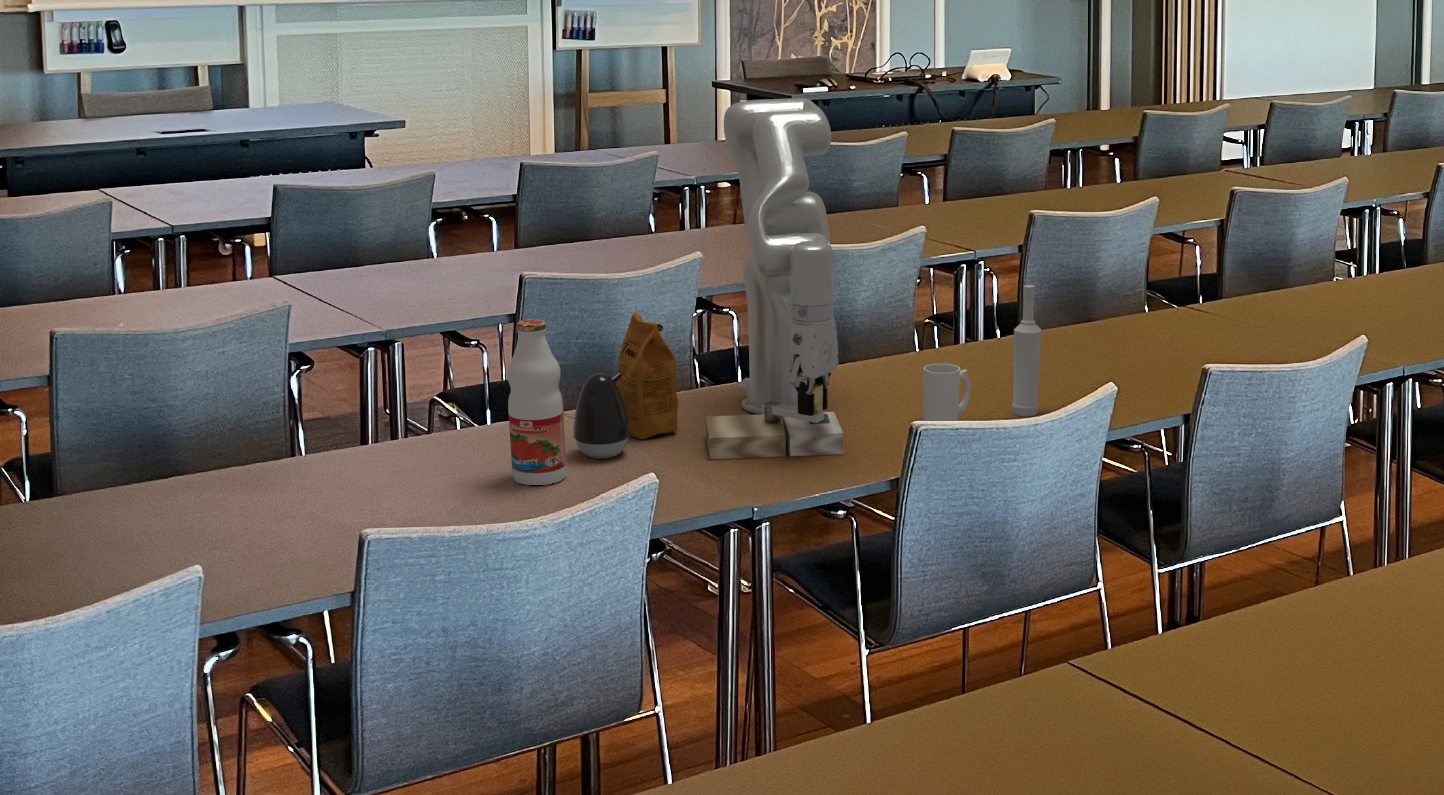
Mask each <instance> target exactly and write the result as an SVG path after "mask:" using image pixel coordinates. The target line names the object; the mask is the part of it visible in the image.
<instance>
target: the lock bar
mask: <svg viewBox="0 0 1444 795" xmlns="http://www.w3.org/2000/svg"><path fill="white" fill-rule="evenodd" d="M805 384H806V385H807V382H805ZM812 394H814V415H813V416H808V415H802V414H799V413H798V407H797V406H792V405H787V404H782V403H779V402H772V401H768V402H766V403H763V404H762V412H764V421H765V422H767V423H778V422H780V421H781V422H782V418H781V417H783V416H784V417H789V418H794V419H799V420H804V421H809V422H814V423H817V422H819V421H822V420H824V412H825V411H824V410H823V384H821V383H816V382H813V388H812Z"/></svg>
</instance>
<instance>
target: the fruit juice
mask: <svg viewBox="0 0 1444 795" xmlns="http://www.w3.org/2000/svg"><path fill="white" fill-rule="evenodd" d="M546 324H547V323H546V322H545V320H543V319H540V318H539V319H538V318H527V319H522V320H519V321H518V322H516V330H517V331H516V333H518V338H517V342H516V346H515V350H514V352H513V356H512V357H511V360H510V362H509V363H508V366H507V371H506V375H507V380H508V384H509V387H510V393H509V396H508V400H507V401H508V402H507V403H508V404H507V405H508V407H507V409H508V410H507V411H508V423H509V425H508V426H509V427H508V428H509V442H510V456H511V458H510V459H511V460H510V461H511V473H512V478H513V480H514V482H515V483H517V484H519V483H521V484H520V485H523V484H524V486H529V485H543V486H549V484H550V485H553V484H552V483H554V484H556V483H559V482H561V481H563V480H564V479H565V478H566V474H567V457H566V456H567V455H566V441H565V440H566V437H565V416H564V401H563V396H562V393H561V391H560V389H559V385H560V379H561V375H562V374H561V367H560V364H559V362H558V360H557V359H556V358H555V356H554V355H553V353H552V351H551V348H550V346H549V343H548V341H547V338H546V335H545V333H546V331H547V325H546Z"/></svg>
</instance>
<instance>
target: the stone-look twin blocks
mask: <svg viewBox="0 0 1444 795" xmlns="http://www.w3.org/2000/svg"><path fill="white" fill-rule="evenodd" d="M823 412H824V420H822V421H819V422H817V423H814V422H809V421H804V420H799V419H794V418H789V417H784V416H782V420H781V421H780V422H778V423H767V422H765V421H764V414H742V415H741V414H740V415H739V414H738V415H737V414H736V415H717V416H715V415H714V416H713V415H712V416H705V439H706V444H707V450H708V455H709V460H726V459H729V460H730V459H732V460H733V459H751V458H752V459H753V458H754V459H755V458H779V457H781V458H782V457H783V458H784V457H786V456H787V455H786V454H787V453H786V452H788V454H789V457H797V456H798V457H802V456H803V457H804V456H807V457H808V456H827V455H828V456H829V455H831V456H832V455H833V456H834V455H843V454H844V432H843V431H844V430H843V429H842V427H841V425H840V422H839V420H838V418H837V415H836V412H835V411H823ZM786 449H787V450H786Z"/></svg>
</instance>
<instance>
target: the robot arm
mask: <svg viewBox="0 0 1444 795" xmlns="http://www.w3.org/2000/svg"><path fill="white" fill-rule="evenodd" d="M723 134H724V138H725V143H726V146H727V150H728V153H729V154H730V157H731V160H732V161H733V164H734V166H735V168H736V172H737V174H738V178H739V187H740V188H739V189H740V195H741V204H742V206H741V207H742V212H743V221H744V227H745V229H746V230H745V231H746V234H747V236H748V237H747V238H748V242H749V249H750V253H749V254H748V255H747V256H746V257H745V258H744V261H743V264H742V276H743V281H744V289H745V294H746V301H747V315H748V317H747V318H748V319H747V321H748V354H749V356H748V357H749V358H748V361H749V362H748V363H749V364H748V365H749V368H748V369H749V371H748V372H749V377H745V378H743V380H742V382H740V383H738V389H739V390H740V391H746V392H745V393H746V397H744V398H742V401H741V407H742V408H743V410H745V411H747V412H749V413H753V414H755V415H762V414H764V412H762V404H763V403H766V402H768V401H772V402H779V403H782V404H787V405H792V406H797V407H798V413H799V414H802V415H808V416H813V415H814V394H812V388H813V382H816V383H821V384H823V411H825V410H827V409H828V388H829V386H830V377H831V374H832V372H833V371H835V370H837V368H838V367H839V345H838V344H839V343H838V342H839V341H838V332H837V331H838V330H837V325H836V324H837V323H836V321H835V317H834V276H835V275H834V274H835V272H834V253H833V252H834V251H833V248H832V245H831V237H830V230H829V229H830V228H829V223H828V215H827V210H826V206H825V204H824V201H823V199H822V198H821V196H820V195H819V194H818V193H817V192H813V191H809V186H810V179H809V176H808V175H809V174H808V170H807V165H806V162H805V157H806V156H807V157H810V156H822V155H824V154H827V152H828V151H829V149H830V147H831V143H832V132H831V126H830V123H829V120H828V117H827V116H826V114H825V112H824V111H823V110H822V109H821V108H820V107H819V106H818V105H817V104H815V103H814V102H813V100H811V99H808V98H803V97H802V98H801V97H798V98H796V97H795V98H794V97H793V98H774V99H769V98H766V99H765V98H764V99H752V100H751V99H750V100H744V101H740V102H739V101H738V102H735V103H733V104H731V105H730V106H728V107H727V109H726V110H725V112H724V116H723ZM786 298H790V306H789V304H787V303H786V302H785V300H784V299H786ZM804 381H806V382H804ZM805 383H807V385H806V384H805Z"/></svg>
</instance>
